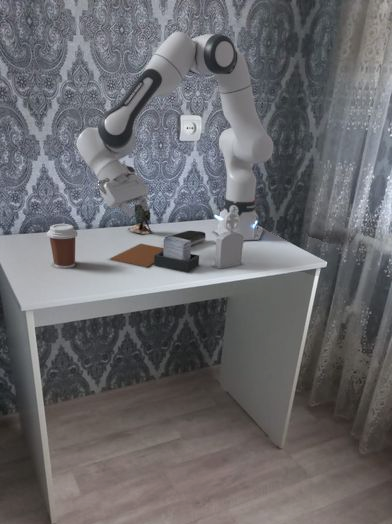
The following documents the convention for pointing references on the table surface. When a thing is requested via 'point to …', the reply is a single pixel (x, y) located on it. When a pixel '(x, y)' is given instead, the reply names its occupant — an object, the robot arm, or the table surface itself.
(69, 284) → the table surface
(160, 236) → the table surface
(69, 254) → the coffee cup
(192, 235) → the black sponge
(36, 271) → the table surface
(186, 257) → the medicine box
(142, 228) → the plant with pod
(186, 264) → the frame
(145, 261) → the desk pad
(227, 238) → the gravestone
